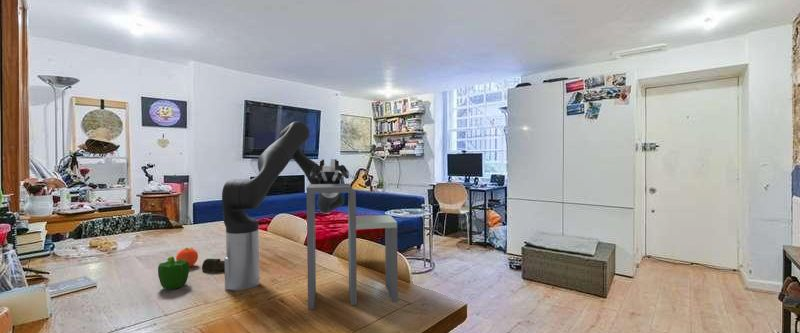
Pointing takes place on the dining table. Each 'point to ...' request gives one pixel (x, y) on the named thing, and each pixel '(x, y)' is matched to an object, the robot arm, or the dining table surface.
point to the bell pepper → (173, 273)
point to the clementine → (188, 255)
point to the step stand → (351, 241)
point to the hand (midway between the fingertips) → (329, 161)
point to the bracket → (329, 167)
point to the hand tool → (213, 265)
